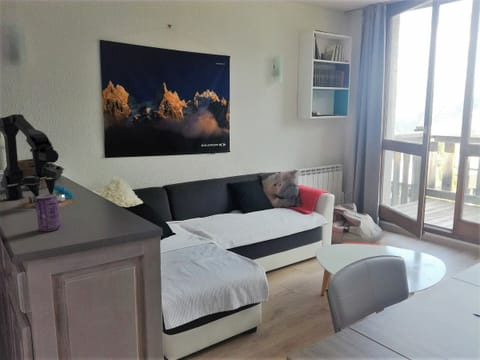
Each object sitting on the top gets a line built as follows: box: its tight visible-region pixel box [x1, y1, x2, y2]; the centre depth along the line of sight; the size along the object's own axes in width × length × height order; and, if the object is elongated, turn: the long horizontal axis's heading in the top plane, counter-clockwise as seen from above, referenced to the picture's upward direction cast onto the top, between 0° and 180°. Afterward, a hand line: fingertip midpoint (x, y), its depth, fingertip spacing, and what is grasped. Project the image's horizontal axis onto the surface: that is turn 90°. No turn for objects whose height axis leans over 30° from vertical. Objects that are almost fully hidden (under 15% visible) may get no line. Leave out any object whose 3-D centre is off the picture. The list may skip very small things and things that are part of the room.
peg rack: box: [17, 195, 73, 209], centre depth 179 cm, size 20×10×4 cm, turn 80°
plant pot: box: [18, 158, 47, 191], centre depth 223 cm, size 16×16×16 cm
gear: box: [53, 184, 74, 199], centre depth 189 cm, size 11×6×10 cm
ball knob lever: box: [31, 193, 66, 203], centre depth 179 cm, size 16×4×3 cm, turn 80°
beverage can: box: [35, 193, 62, 232], centre depth 138 cm, size 7×7×12 cm
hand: (44, 196), depth 179 cm, fingers open, 9 cm apart
